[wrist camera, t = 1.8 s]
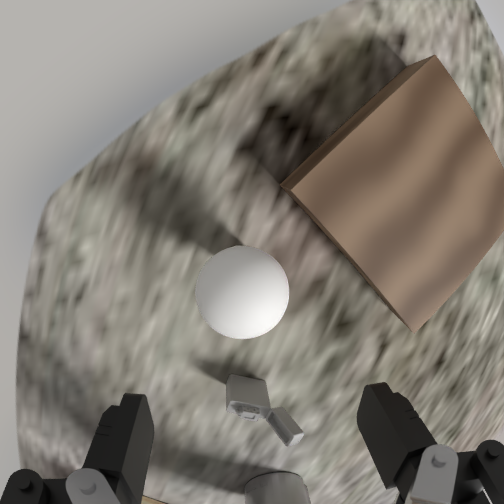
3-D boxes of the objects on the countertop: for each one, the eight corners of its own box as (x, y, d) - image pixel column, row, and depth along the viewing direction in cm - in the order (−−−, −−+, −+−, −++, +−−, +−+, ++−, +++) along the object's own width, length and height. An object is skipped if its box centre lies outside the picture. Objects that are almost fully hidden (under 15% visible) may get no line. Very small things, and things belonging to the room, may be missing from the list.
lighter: (225, 385, 32) (226, 439, 25) (230, 373, 32) (231, 427, 24) (285, 396, 34) (298, 448, 26) (291, 386, 33) (306, 437, 26)
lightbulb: (268, 290, 30) (289, 358, 19) (202, 286, 29) (190, 354, 18) (276, 225, 28) (305, 266, 17) (205, 220, 27) (192, 258, 17)
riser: (490, 199, 29) (519, 207, 24) (391, 311, 31) (413, 333, 27) (407, 66, 24) (435, 54, 20) (279, 184, 27) (290, 190, 22)
